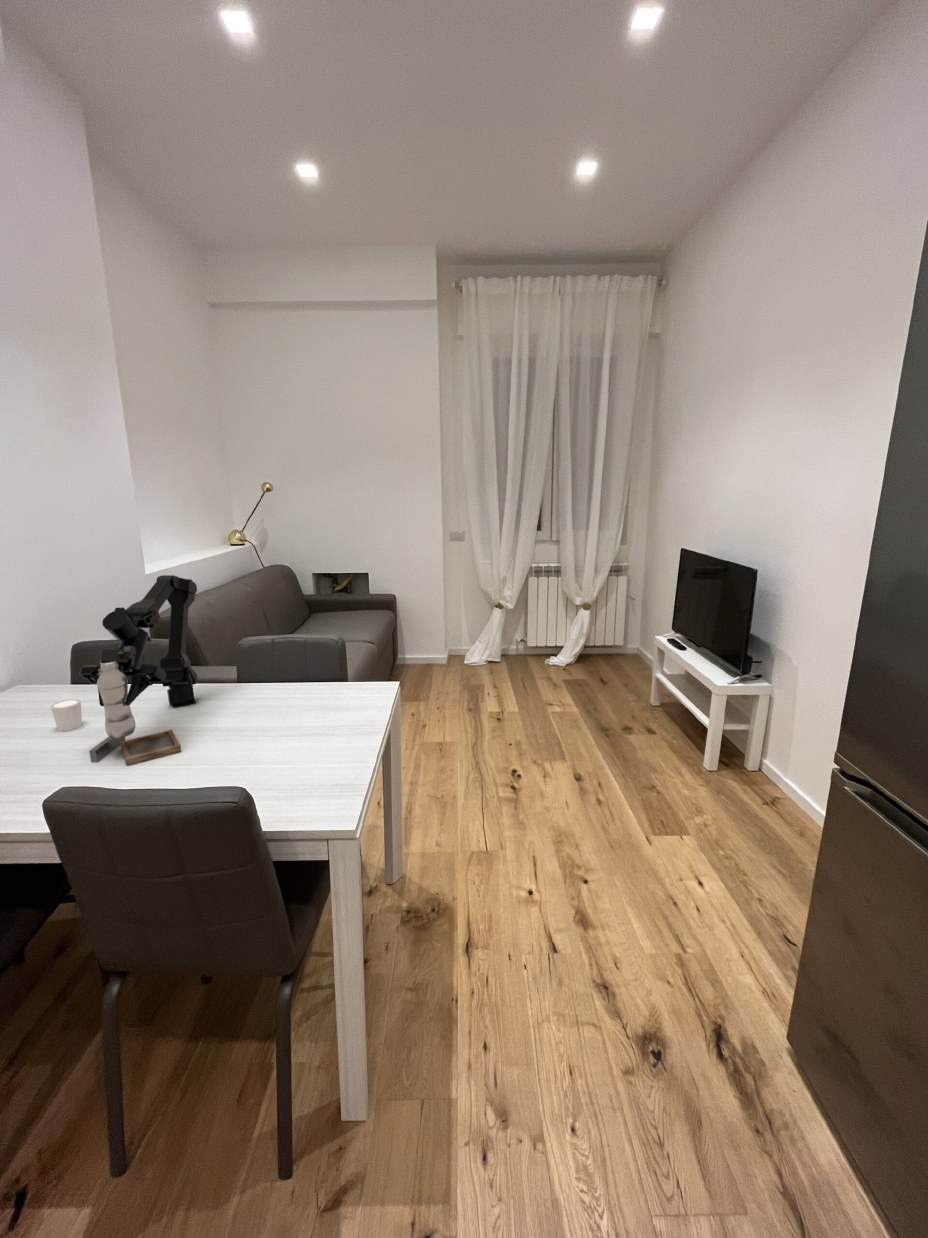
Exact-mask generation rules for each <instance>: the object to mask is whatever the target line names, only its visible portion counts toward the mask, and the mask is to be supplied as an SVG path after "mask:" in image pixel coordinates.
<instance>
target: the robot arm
mask: <svg viewBox="0 0 928 1238" xmlns="http://www.w3.org/2000/svg"><path fill="white" fill-rule="evenodd" d="M197 591H198V586H197V583H196V582H194V580H192V579H189V578H188V579H186V578H182V577H179V576H177V575H159V576H157V577H156V581H155V583H154V584H153V585H152V587H150V589H149V591H148V592H147V593H146V594H145V596H144V597H143V598H142V599H141V600H139V601H138V602H135V603H131V605H130V606H128V607H127V608H125V607H115V608H114V610H113V611H112V612H109V613H108V614H107V615H105V617H103V619H102V622H101V624H102V627H103V628H104V629H105V630H106V631H107V632H109V633H110V635H112V636H113V637H114V638H115V639H116V640H118V641H120V643H119V645H118V647H114V648H106V649H105V648H103V649H101V650H100V658H99V663H100V662H101V661H102V662H105V661H111V662H114V661H116V662H118V664H119V667H118V669H119V670H120V671H122V672H123V673H124V674H125V675H126V677H127V678H130V679H131V683H130V687H129V688H128V695H127V699H126V705H127V706H129V705H130V706H131V704H132V703H133V702H134V701H135V700H136V699H137V698H138V697H139V696H140V695H141V694H142V693H143V692H144V691H145V690H146V689H147V688H148V687H149V686H153V685H154V683H155V684H156V683H161V684H162V687H165V688H166V687H168V689H166V693H167V698H168V704H169V705H170V706H172V708H174V709H175V708H178V707H179V708H180V707H183V706H188V705H193V704H196V703H197V701H196V700H195V695H194V686H193V685H196V684H197V683H198V674H197V672H196V671H195V670H194V669H193V668H192V662H191V660H190V659H189V657H188V655H187V638H188V637H187V636H188V622H189V621H188V619H189V608H190V607H191V605H192V604H193V603H194V602H195V600H196V593H197ZM166 601H167V602H168V604H169V606H170V616H169V617H170V619H169V633H168V634H169V635H168V645H167V646H168V647H167V653H166V655H165V656H164V657H161V659H160V661H159V662H160V663H159V664H158V663H146V664H145V663H143V664H142V665H141V663H142V662H145V660H146V659H145V658H146V657H145V656H144V652H145V649H146V645H147V643H151V642H152V638H151V636H150V635H149V632H148V631H146V630H145V629H154V628H155V627H156V626H157V624H158V622H159V620H160V617H161V615H160V612H159V611H160V609H161V608H162V606H163V605H164V603H166ZM100 667H101V665H100V664H95V665H94V664H92V665H91V664H90V665H89V664H88V665H87V664H86V665H84V666H82V667H81V668H80V671H79V674H78V675H79V676H80V677H81V678H82V679H84V680H85V681H87V682H88V683H89V684H91V685H97V680H98V678H99V676H100V674H101V673H102V670H101V668H100ZM97 693H98V700H99V701H98V702H99V706H100V707H104V704H103V701H102V697H101V695H100V692H99V689H98V688H97Z"/></svg>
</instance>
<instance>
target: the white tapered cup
mask: <svg viewBox="0 0 928 1238" xmlns="http://www.w3.org/2000/svg"><path fill="white" fill-rule="evenodd" d="M50 709H51V713H52V716H53V719H54V721H55V725H56V727H57V728H56V729H57V730H58V731H60V732H68V731H73V730H76V729H79V728H80V727H81V726H83V721H82V719H83V718H82V716H83V715H82V702H81V701H80V699H65V700H61V701H58V702H55V703H53V704H51V705H50ZM78 727H79V728H78Z"/></svg>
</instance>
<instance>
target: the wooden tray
mask: <svg viewBox="0 0 928 1238" xmlns="http://www.w3.org/2000/svg"><path fill="white" fill-rule="evenodd" d="M119 746H120V749H121V753H122V755H123V759H124V762H125V766H126V767H127V766H132V764H133V765H136V764H140V763H144V762H147V761H151V760H155V759H158V758H162V757H166V756H171V755H175V754H178V753H181V752H182V748H181V744H180V742H179V741H178V738H177V737H176V735H175V734H174V732H173V730H172V729H169V730H165V731H159V732H155V733H152V734H147V735H144V736H139V737H135V738H131V739H130V738H129V739H125V741H121V742H120V745H119Z"/></svg>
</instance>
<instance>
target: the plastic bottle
mask: <svg viewBox="0 0 928 1238" xmlns="http://www.w3.org/2000/svg"><path fill="white" fill-rule="evenodd" d="M99 666H101V667H100V668H101V670H102V673H101V674H100V676H99V678H98V680H97V684H96V687H97V690H98V689H99V692H100V695H101V697H102V701H103V704H104V706H103V708H104V730H105V733H106V735H107V736H108V737H111V738H123V737H125V738H126V737H128V736H131V735H132V734H134V732H135V730H136V720H135V717H134V715H133V713H132V708H131V704H130V705H129V706H127V705H126V699H127V695H128V692H129V687H128V683H129V682H128V677H126V675H125V674H124V673H123V672H122V671H120V670H119V669H118V667H119V664H118V662H116V661H114V662H111V661H105V662H102V661H101V662H100V661H99Z"/></svg>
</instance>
